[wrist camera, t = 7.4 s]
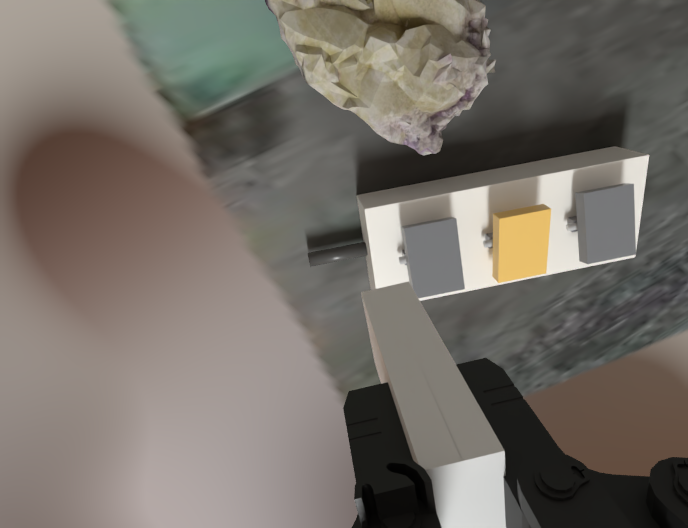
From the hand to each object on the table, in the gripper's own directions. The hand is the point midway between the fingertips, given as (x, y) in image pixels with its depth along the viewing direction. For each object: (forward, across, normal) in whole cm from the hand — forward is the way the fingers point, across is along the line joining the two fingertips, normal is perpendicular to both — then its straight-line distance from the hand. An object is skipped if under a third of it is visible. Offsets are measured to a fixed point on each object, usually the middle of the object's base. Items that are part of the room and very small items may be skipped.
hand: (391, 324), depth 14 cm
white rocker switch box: (+25, +11, -8) cm, 28 cm away
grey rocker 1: (+20, +6, -8) cm, 22 cm away
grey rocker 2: (+20, +20, -8) cm, 30 cm away
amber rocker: (+20, +13, -8) cm, 25 cm away
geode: (+25, +6, +9) cm, 27 cm away
